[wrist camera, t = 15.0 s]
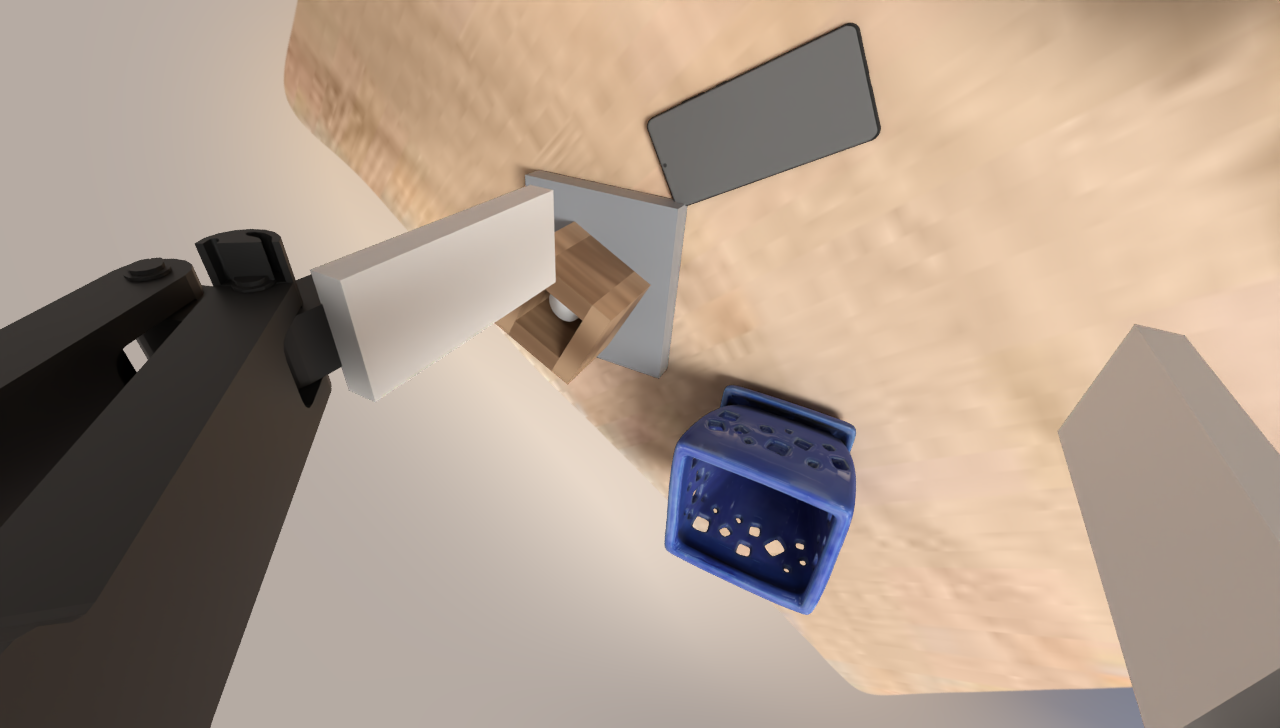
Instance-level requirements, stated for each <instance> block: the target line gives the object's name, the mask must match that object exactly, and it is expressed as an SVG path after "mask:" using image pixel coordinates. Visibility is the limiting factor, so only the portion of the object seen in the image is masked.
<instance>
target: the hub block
mask: <svg viewBox="0 0 1280 728" xmlns="http://www.w3.org/2000/svg"><path fill="white" fill-rule="evenodd" d="M554 235H555V273H556V282H555V283H554V284H552V285H551V286H549V287H548V288H546V289H545V290H543V291H542V292H540V293H539V294H537V295H536V296H534V297H533V298H531V299H530V300H528V301H527V302H525V303H524V304H522V305H521V306H519V307H518V308H516V309H515V310H513V311H512V312H510V313H509V314H507V315H506V316H504V317H503V318H501V319H500V320H498V321H497V322H495V324H497V325H498V326H499V327H500V328H501V329H502V330H504V331H505V332H506V333H507V334H508V335H510V336H511V337H512V338H513V339H514V340H515V341H517V342H518V343H519V344H520V345H521V346H523V347H524V348H525V349H526V350H527V351H529V352H530V353H531V354H532V355H533V356H534V357H536V358H537V359H538V360H539V361H540V362H542V363H543V364H544V365H545V366H546V367H547V368H549V369H550V370H551V371H552V372H553V373H555V374H556V375H557V376H558V377H559V378H561V379H562V380H563V381H564V382H565V383H566V384H569V383H570V382H571V381H572V380H573V379H574V378H575V377H576V376H577V375H578V374H579V373H580V372H581V371H582V370H583V369H584V368H585V367H586V366H587V365H588V364H589V363H591V362H592V361H593V360H594V359H595V358H596V357H597V356H598V355H599V354H600V353H601V352H602V351H603V350H604V349H605V348H606V347H607V346H608V345H609V343H610V342H611V341H612V339H613V338H614V336H615V335H616V333H617V332H618V331H619V329H620V328H621V326H622V325H623V324H624V322H625V321H626V319H627V318H628V317H629V315H630V314H631V312H632V311H633V309H634V308H635V307H636V305H637V304H638V302H639V301H640V300H641V298H642V297H643V295H644V294H645V293H646V291H647V290H648V288H649V287H650V284H649V283H648V282H647V281H645V280H644V279H643V278H642V277H641V276H639V275H638V274H637V273H636V272H635V271H633V270H632V269H631V268H630V267H629V266H627V265H626V264H625V263H624V262H623V261H621V260H620V259H619V258H618V257H617V256H615V255H614V254H613V253H612V252H611V251H609V250H608V249H607V248H606V247H605V246H603V245H602V244H601V243H600V242H599V241H597V240H596V239H595V238H594V237H593V236H591V235H590V234H589V233H588V232H587V231H585V230H584V229H583V228H582V227H581V226H579V225H578V224H577V223H576V222H573V223H571V224H569V225H567V226H565V227H563V228H562V229H560V230H558V231H556V232H554ZM550 294H551V295H553V296H554V297H555V298H556V299H557V300H558V301H560V302H561V303H562V304H563V305H564V306H566V307H567V308H568V309H569V310H570V311H572V312H573V313H574V314H575V315H576V316H578V317H579V318H577V319H576V320H575V321H571V322H568V321H564V320H562V319H560V318H559V317H558V316H556V315H555V313H554V312H553V310H552V309H551V306H550V303H549V296H550Z"/></svg>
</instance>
